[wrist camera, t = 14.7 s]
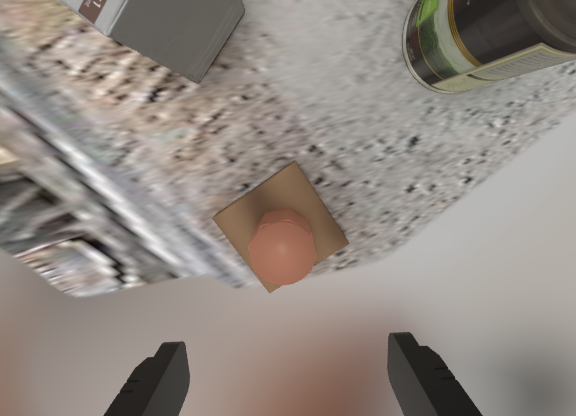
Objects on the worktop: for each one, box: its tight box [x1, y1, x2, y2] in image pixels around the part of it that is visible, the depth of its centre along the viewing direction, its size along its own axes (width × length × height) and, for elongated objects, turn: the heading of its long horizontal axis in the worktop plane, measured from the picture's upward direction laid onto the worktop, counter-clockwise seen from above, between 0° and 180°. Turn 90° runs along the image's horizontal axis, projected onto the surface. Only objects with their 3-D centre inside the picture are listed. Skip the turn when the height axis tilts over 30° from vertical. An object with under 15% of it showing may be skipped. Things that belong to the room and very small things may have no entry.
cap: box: [248, 207, 317, 285], centre depth 27 cm, size 6×6×5 cm
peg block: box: [212, 161, 349, 293], centre depth 28 cm, size 10×10×6 cm
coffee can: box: [402, 0, 576, 94], centre depth 20 cm, size 10×10×14 cm
